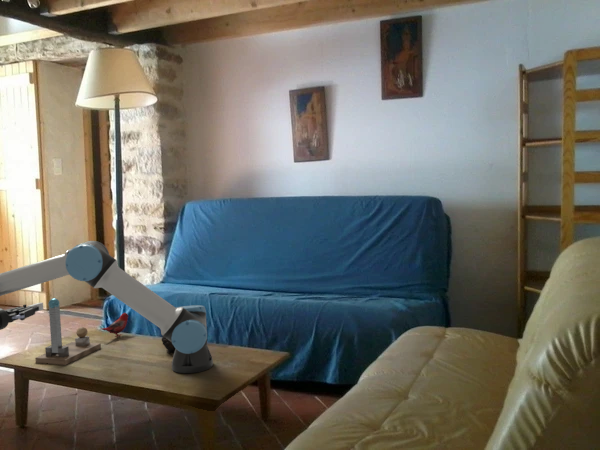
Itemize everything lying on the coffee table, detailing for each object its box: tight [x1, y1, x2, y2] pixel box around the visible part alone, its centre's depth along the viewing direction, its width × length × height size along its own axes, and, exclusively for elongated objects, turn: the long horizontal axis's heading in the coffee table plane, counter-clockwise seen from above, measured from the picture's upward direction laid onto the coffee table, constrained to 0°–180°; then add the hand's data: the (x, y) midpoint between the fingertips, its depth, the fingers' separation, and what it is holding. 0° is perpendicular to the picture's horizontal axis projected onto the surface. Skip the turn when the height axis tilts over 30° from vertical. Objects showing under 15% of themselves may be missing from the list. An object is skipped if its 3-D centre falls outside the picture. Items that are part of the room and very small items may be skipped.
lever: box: [48, 298, 63, 355], centre depth 215 cm, size 4×4×22 cm
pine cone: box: [161, 336, 176, 355], centre depth 227 cm, size 10×18×10 cm, turn 151°
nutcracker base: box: [35, 326, 102, 366], centre depth 223 cm, size 22×14×9 cm, turn 165°
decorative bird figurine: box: [99, 312, 130, 338], centre depth 247 cm, size 3×18×10 cm, turn 153°
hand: (41, 306), depth 208 cm, fingers closed
